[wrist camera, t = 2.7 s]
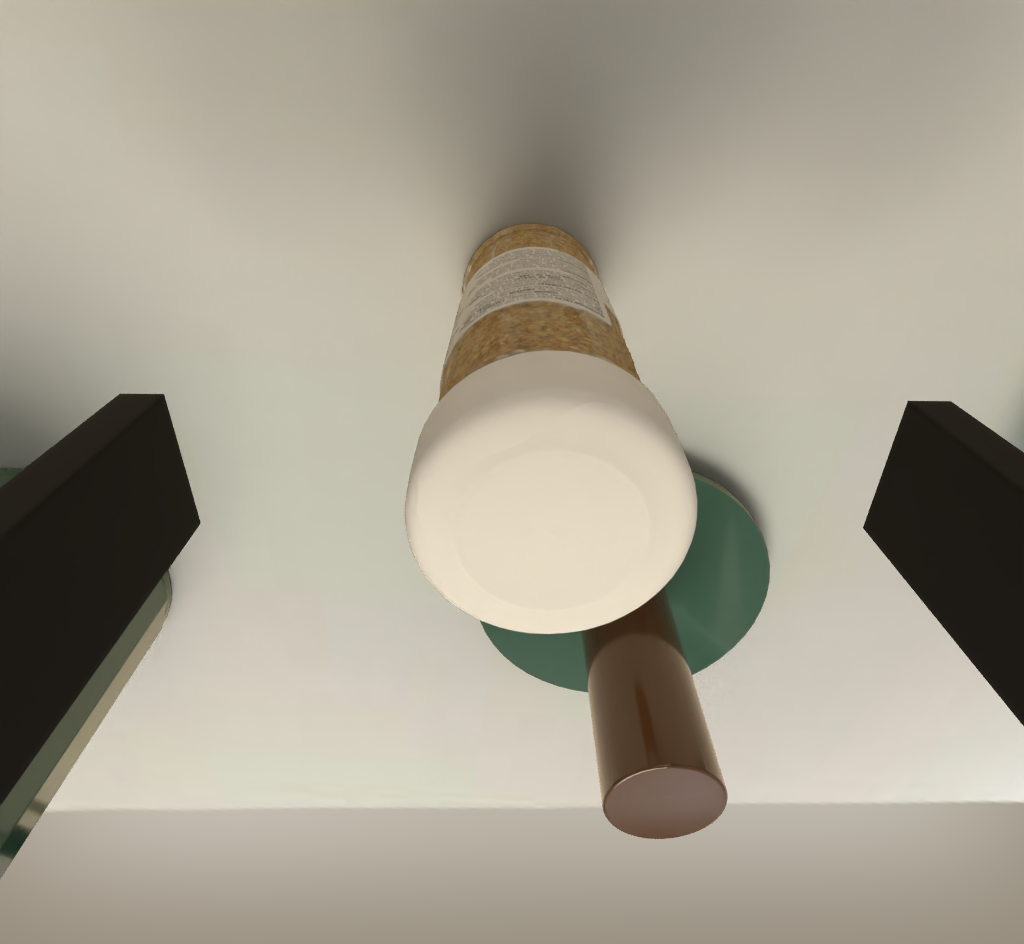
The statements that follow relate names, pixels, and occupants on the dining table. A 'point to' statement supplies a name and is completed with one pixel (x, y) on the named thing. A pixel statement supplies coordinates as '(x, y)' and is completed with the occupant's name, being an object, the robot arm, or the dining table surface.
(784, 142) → the dining table surface
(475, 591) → the sprinkles bottle
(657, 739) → the canister lid
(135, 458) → the robot arm
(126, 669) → the canister
